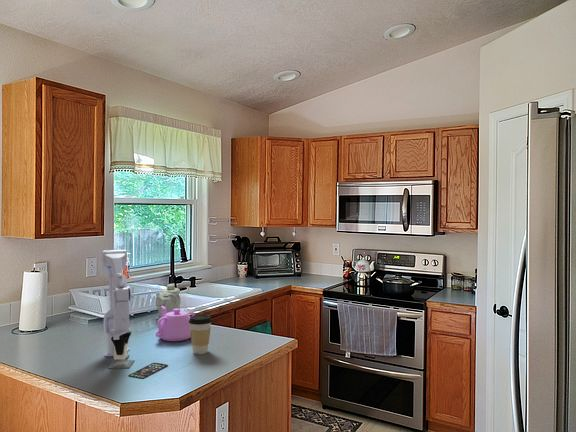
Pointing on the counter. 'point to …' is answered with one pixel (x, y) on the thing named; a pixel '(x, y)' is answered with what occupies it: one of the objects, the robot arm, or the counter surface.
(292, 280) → the counter surface
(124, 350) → the block
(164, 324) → the teapot
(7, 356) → the counter surface
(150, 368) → the smartphone
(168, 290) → the teapot
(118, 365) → the mat
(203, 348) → the coffee cup
